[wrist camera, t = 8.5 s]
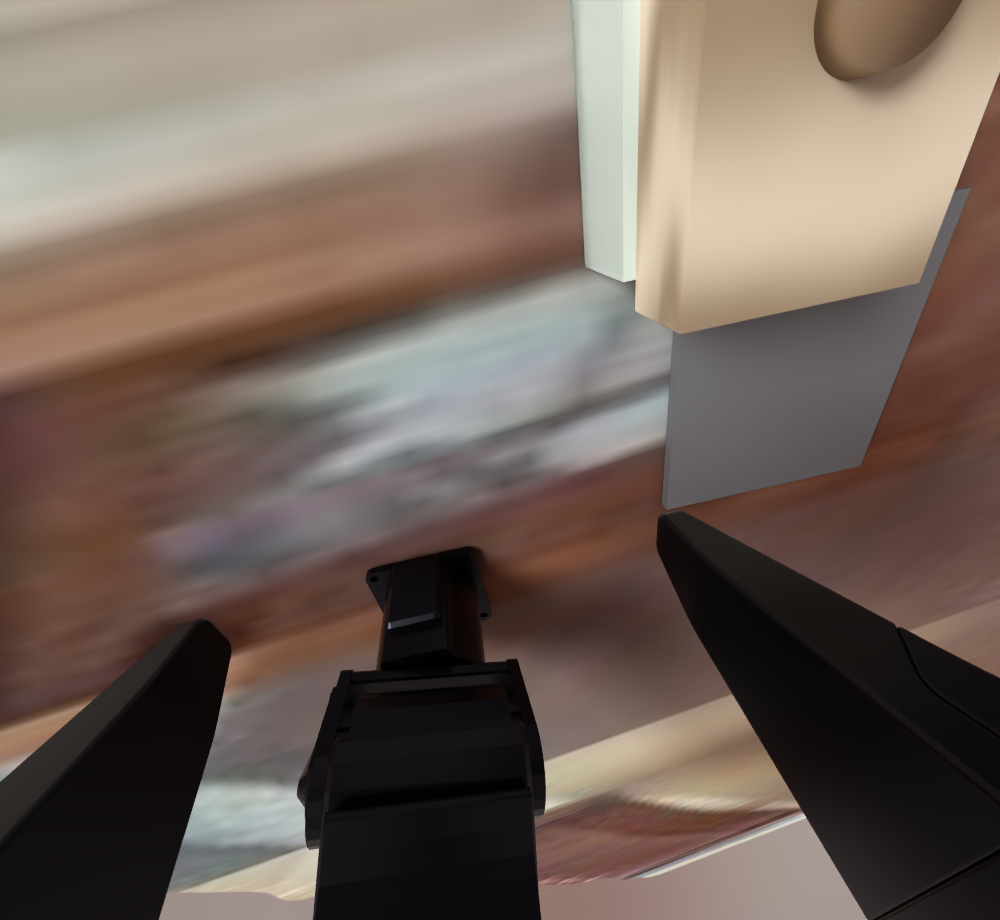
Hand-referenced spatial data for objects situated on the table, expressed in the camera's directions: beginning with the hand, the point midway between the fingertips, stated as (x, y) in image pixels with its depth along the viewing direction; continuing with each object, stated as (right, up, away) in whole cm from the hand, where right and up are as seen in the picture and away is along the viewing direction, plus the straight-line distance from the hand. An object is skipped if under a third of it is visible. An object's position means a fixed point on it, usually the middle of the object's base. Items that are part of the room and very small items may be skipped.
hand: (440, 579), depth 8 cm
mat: (+16, +7, +13) cm, 21 cm away
